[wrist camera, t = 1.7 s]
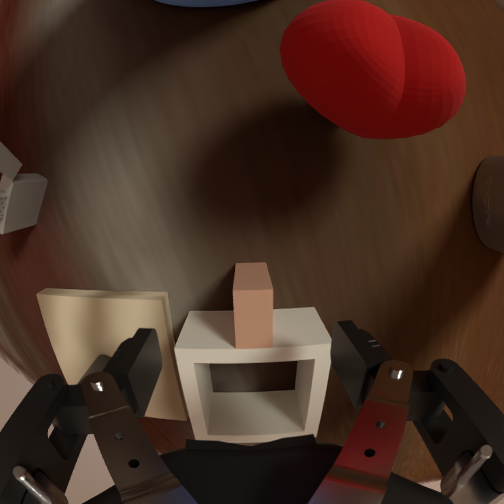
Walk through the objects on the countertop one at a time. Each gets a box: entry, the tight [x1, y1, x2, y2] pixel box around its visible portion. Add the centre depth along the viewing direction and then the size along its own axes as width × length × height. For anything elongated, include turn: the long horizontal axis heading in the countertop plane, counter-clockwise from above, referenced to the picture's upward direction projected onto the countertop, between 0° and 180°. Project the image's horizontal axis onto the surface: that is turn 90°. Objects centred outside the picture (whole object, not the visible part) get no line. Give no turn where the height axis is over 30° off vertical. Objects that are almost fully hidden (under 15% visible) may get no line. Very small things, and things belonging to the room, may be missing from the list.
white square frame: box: [174, 262, 332, 443], centre depth 17 cm, size 9×12×5 cm
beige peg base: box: [37, 288, 189, 427], centre depth 15 cm, size 12×12×10 cm
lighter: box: [0, 142, 48, 234], centre depth 13 cm, size 7×2×8 cm, turn 152°
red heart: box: [280, 0, 466, 139], centre depth 11 cm, size 9×7×10 cm
